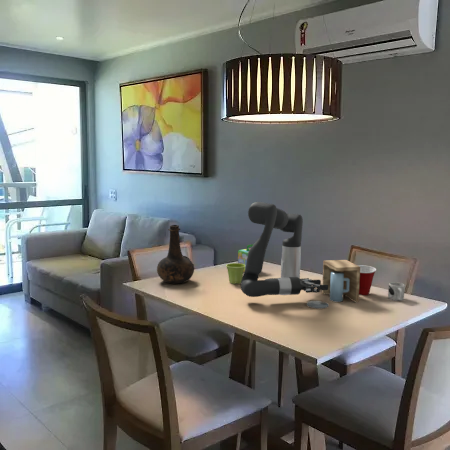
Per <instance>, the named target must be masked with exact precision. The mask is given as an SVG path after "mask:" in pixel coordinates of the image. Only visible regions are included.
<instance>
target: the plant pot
mask: <svg viewBox="0 0 450 450" xmlns="http://www.w3.org/2000/svg"><path fill="white" fill-rule="evenodd" d="M225 266H226V270H227V274H228V281H229V283H230V284H233V285H236V284H240V285H241V281H242V277H243V274H244V272H243V271H244V267H245V265H244V264H240V263H238V262H234V263H233V262H232V263H227V264H226V265H225Z"/></svg>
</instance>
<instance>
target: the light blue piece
mask: <svg viewBox="0 0 450 450" xmlns="http://www.w3.org/2000/svg"><path fill="white" fill-rule="evenodd" d="M344 281H346V289H343V286H344ZM349 282H350V279H349V278H344V273H343V272H337V271H334V272H331V280H330V294H329V301H331V302H335V303H336V302H338V303H339V302H340V303H341V302H343V300H344V294H343V292H348V291H349Z"/></svg>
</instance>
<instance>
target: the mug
mask: <svg viewBox="0 0 450 450" xmlns="http://www.w3.org/2000/svg"><path fill="white" fill-rule="evenodd" d="M405 287H406V285H405V284H404V283H403V282H398V281H396V282H394V281H393V282H389V283H388V293H387V295H388V296H387V299H388V300H390V301H394V302H402V301H404V300H405V289H406V288H405Z"/></svg>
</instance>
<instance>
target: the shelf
mask: <svg viewBox="0 0 450 450" xmlns="http://www.w3.org/2000/svg"><path fill="white" fill-rule="evenodd" d="M322 262H323V264H322V282H321V285H328V290H321V291H322V292H321V294H322V295H330V280H331V272H334V271H337V272H343V273H344V278H349V279H350V282H349V291H348V292H343V296H344V295H345V296H346V297H348V298H349V299H350V300H352V301H353V302H355V303H359V296H360V295H359V281H360V267H359V265H357V264H355V263H353V262H351V261H349V260H347V259H332V260H331V259H330V260H329V259H328V260H327V259H326V260H323V261H322ZM343 289H346V281H344V286H343Z"/></svg>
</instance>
